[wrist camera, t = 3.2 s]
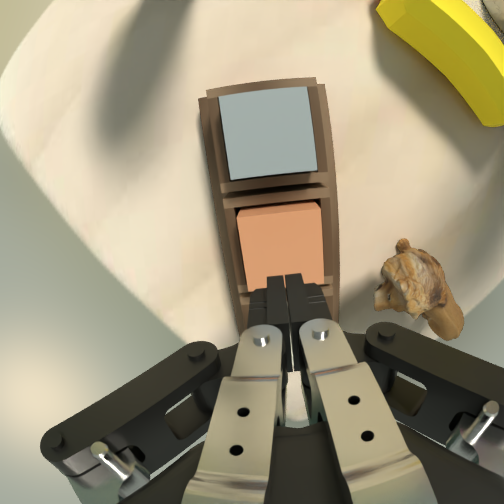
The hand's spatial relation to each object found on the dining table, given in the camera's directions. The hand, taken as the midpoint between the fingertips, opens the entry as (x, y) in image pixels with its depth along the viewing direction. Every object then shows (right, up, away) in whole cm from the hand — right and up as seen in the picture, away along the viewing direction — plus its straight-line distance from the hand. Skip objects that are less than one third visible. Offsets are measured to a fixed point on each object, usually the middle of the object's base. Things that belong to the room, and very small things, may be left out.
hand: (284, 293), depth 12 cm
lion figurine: (+13, -1, +11) cm, 17 cm away
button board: (+1, +4, +10) cm, 11 cm away
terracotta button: (+1, +3, +7) cm, 8 cm away
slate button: (0, +9, +4) cm, 10 cm away
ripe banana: (+16, +20, +3) cm, 26 cm away
